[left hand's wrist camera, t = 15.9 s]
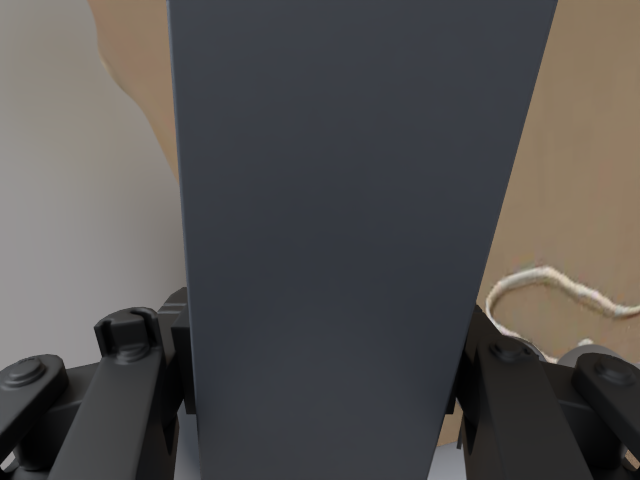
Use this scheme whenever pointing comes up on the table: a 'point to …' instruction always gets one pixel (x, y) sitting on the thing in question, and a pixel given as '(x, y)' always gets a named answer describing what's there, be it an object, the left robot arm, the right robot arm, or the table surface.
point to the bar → (340, 218)
